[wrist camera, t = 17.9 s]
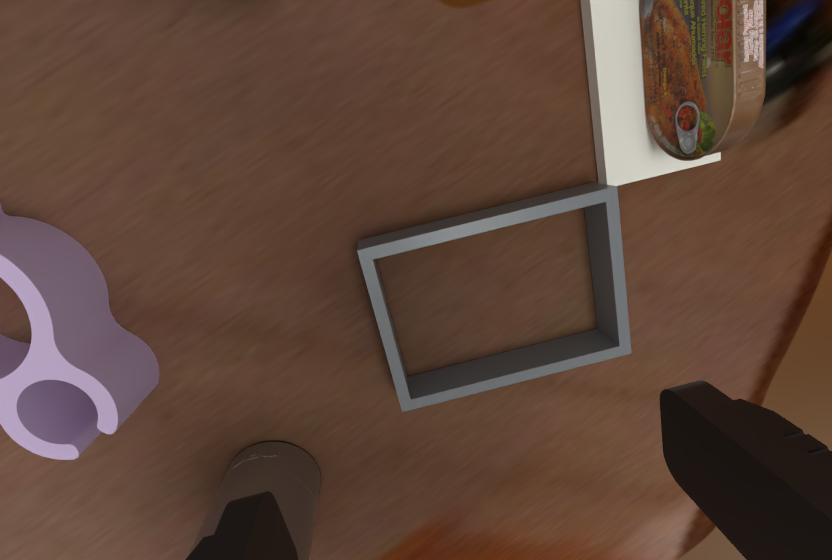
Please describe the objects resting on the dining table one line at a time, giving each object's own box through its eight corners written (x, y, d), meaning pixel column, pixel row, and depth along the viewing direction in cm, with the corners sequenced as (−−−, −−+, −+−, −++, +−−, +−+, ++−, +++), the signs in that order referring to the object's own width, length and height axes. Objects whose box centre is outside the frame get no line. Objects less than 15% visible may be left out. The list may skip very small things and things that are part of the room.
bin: (608, 334, 43) (631, 353, 39) (399, 388, 42) (402, 412, 38) (592, 182, 38) (617, 186, 34) (358, 240, 38) (356, 250, 34)
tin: (635, -48, 32) (723, -114, 24) (676, -57, 32) (778, -126, 24) (647, 160, 36) (724, 164, 28) (683, 152, 36) (770, 153, 28)
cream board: (707, 159, 38) (720, 160, 37) (598, 186, 38) (607, 188, 37) (702, -81, 33) (717, -91, 32) (575, -51, 33) (584, -60, 31)
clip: (194, 360, 40) (158, 402, 33) (89, 432, 41) (34, 487, 34) (12, 172, 34) (-76, 178, 27) (-104, 261, 35) (-216, 288, 28)
